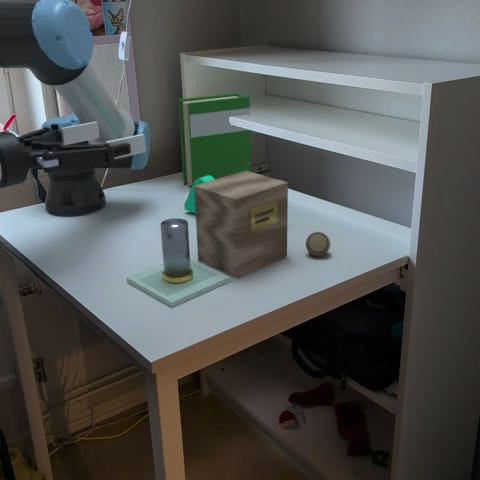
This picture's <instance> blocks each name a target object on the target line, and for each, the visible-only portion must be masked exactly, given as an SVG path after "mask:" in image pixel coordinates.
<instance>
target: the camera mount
mask: <svg viewBox="0 0 480 480" xmlns="http://www.w3.org/2000/svg"><path fill="white" fill-rule="evenodd" d="M212 180H215V179H214V178H213V177H212V176H210V175H207V176H204V177H201V178H198V179H196V180H195V182H194V184H193V186H191V189H190V191H189V193H188V196H187V197H186V200H185V202H184V204H183V205H184V210H185V211H187V212H191V213H194V216H195V218H196V211H195V192H194V186H195V185H199V184H202V183H205V182H209V181H212Z"/></svg>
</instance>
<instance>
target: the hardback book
mask: <svg viewBox="0 0 480 480" xmlns="http://www.w3.org/2000/svg"><path fill="white" fill-rule="evenodd" d="M250 98H251V97H250V96H249V95H245V94H241V93H239V92H232V93H225V94H223V93H222V94H215V95H214V94H213V95H205V96H197V97H196V96H195V97H194V96H193V97H186V98H179V99H178V113H179V128H180V129H179V132H180V146H181V161H182V162H181V163H182V164H181V165H182V180H183V185H184V186H191V187H192V186H193V184H194V182H195V180H196V179H198V178H201V177H204V176H207V175H210V176H212V177H213V178H214V179H215V180H216V179H219V178H222V177H226V176H229V175H233V174H236V173H239V172H243V171H249V172H251V169H252V168H251V167H252V165H251V129H250V130H247V129H244V128H241V127H237V126H234V125H231V124H230V122H229V117H231V116H242V115H250V116H251V112H250V111H251V109H250V106H251V105H250V102H251V99H250ZM188 184H189V185H188Z"/></svg>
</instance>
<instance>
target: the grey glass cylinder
mask: <svg viewBox="0 0 480 480" xmlns="http://www.w3.org/2000/svg"><path fill="white" fill-rule="evenodd" d="M160 233H161V234H160V235H161V247H162V249H161V250H162V260H163V263H164V271H163V272H162V277H163V280H164V281H165V282H167V283H170V284H181V283H186V282H188V281H190V280H191V279H192V278H193V270H192V269H191V267H190V258H191V256H190V255H191V252H190V251H191V249H190V235H189V233H190V232H189V222H188V220H186V219H183V218H179V217H178V218H177V217H176V218H168V219H165V220H162V221H161V222H160Z"/></svg>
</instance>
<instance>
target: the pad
mask: <svg viewBox="0 0 480 480" xmlns="http://www.w3.org/2000/svg"><path fill="white" fill-rule="evenodd" d="M190 267H191V269H192V270H193V278H192V279H191V280H190V281H188V282H186V283H181V284H170V283H167V282H165V281H164V280H163V277H162V272H163V271H164V262H163V263H161V264H158V265H156V266H153V267H151V268H148V269H146V270H142V271H140V272H137V273H135V274H132V275H129V276H127V277H126V283H127V284H130V285H132V286H133V287H135V288H137V289H138V290H140V291H142V292H144V293H146V294H147V295H149V296H151V297H153V298H155V299H156V300H158V301H159V302H162V304H165V305H167V306H168V307H170V308H173V307H176V306H178V305H180V304H182V303H185V302H188V301H189V300H191V299H194V298H196V297H198V296H201V295H203V294H205V293H208V292H210V291H212V290H214V289H217V288H219V287H221V286H223V285H225V284H228V283H230V282H231V276H230V275H227V274H225V273H223V272H222V271H221V272H220V271H218V269H217V270H216V269H215V268H212V267H210V266H209V265H207V264H205V263H201V262H199V261H197V260H195V259H193V258H191V257H190Z"/></svg>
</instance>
